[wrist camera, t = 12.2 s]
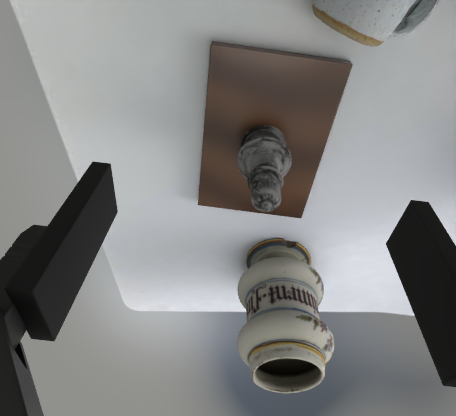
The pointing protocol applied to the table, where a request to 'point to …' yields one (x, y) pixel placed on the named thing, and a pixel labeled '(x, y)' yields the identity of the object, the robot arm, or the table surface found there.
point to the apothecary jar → (283, 318)
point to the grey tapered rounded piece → (264, 165)
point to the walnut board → (267, 119)
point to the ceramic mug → (372, 17)
